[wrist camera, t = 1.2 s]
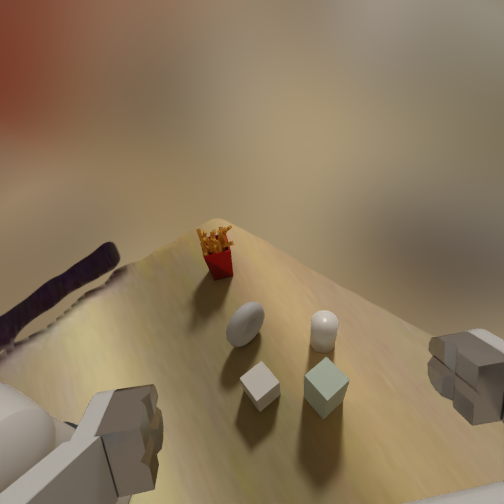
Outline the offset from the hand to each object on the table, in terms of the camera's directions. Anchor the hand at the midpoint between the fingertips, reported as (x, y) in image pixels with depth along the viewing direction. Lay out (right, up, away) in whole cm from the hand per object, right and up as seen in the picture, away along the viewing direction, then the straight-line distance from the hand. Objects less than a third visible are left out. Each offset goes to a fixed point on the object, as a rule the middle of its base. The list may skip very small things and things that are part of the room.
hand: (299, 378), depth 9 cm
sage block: (+12, -23, +48) cm, 55 cm away
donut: (-2, -15, +59) cm, 60 cm away
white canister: (+13, -15, +56) cm, 59 cm away
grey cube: (+1, -23, +50) cm, 55 cm away
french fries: (-8, -2, +71) cm, 72 cm away
